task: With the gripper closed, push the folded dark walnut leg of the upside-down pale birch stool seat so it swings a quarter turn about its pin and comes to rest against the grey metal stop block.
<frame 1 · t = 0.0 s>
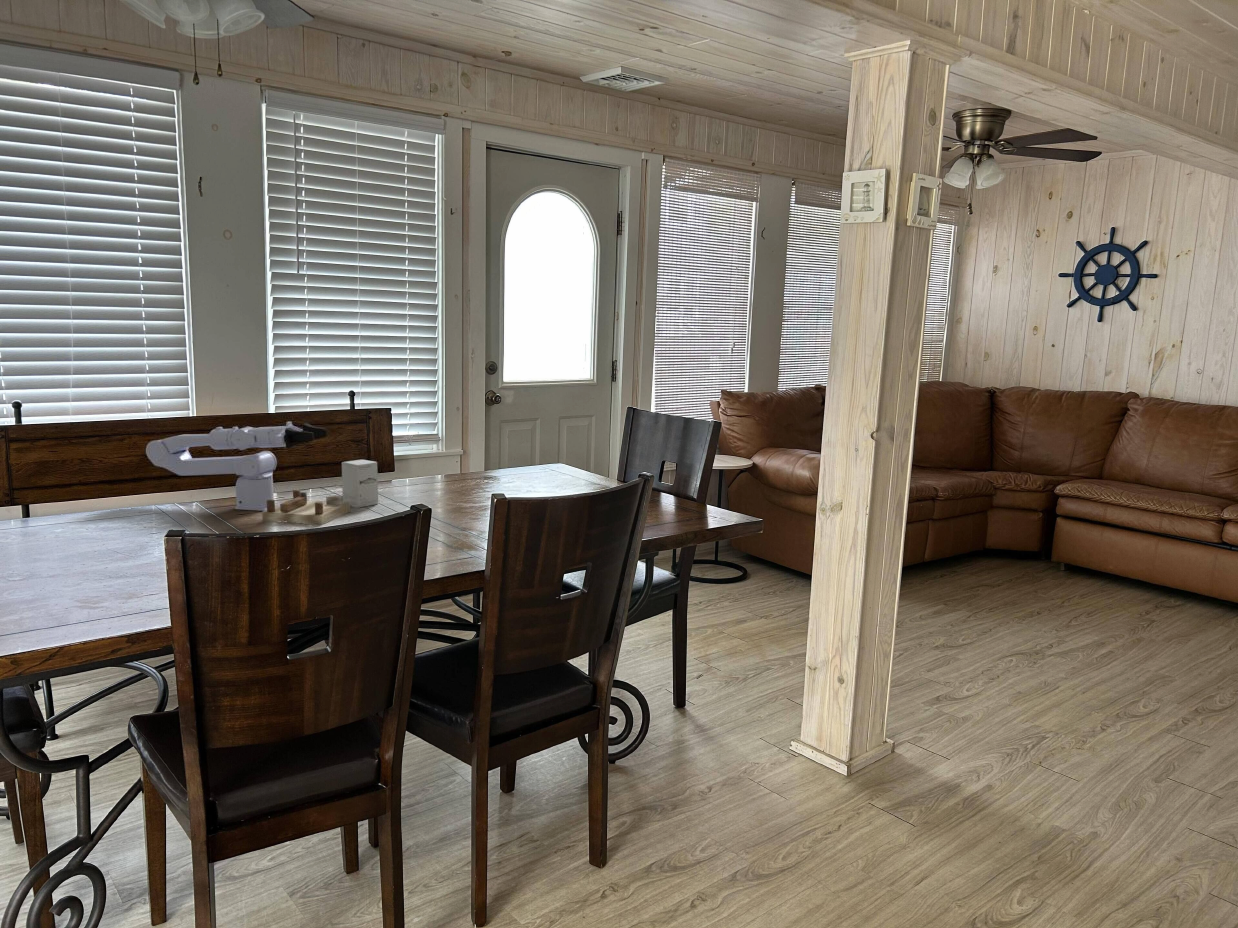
hand: (320, 434, 250), 22 cm above the table, tool horizontal, fingers open, 7 cm apart
seat: (307, 516, 248), on the table
supplement box: (360, 505, 263), on the table
leg: (294, 501, 246), point 4 cm above the table, hinge at 0.0°
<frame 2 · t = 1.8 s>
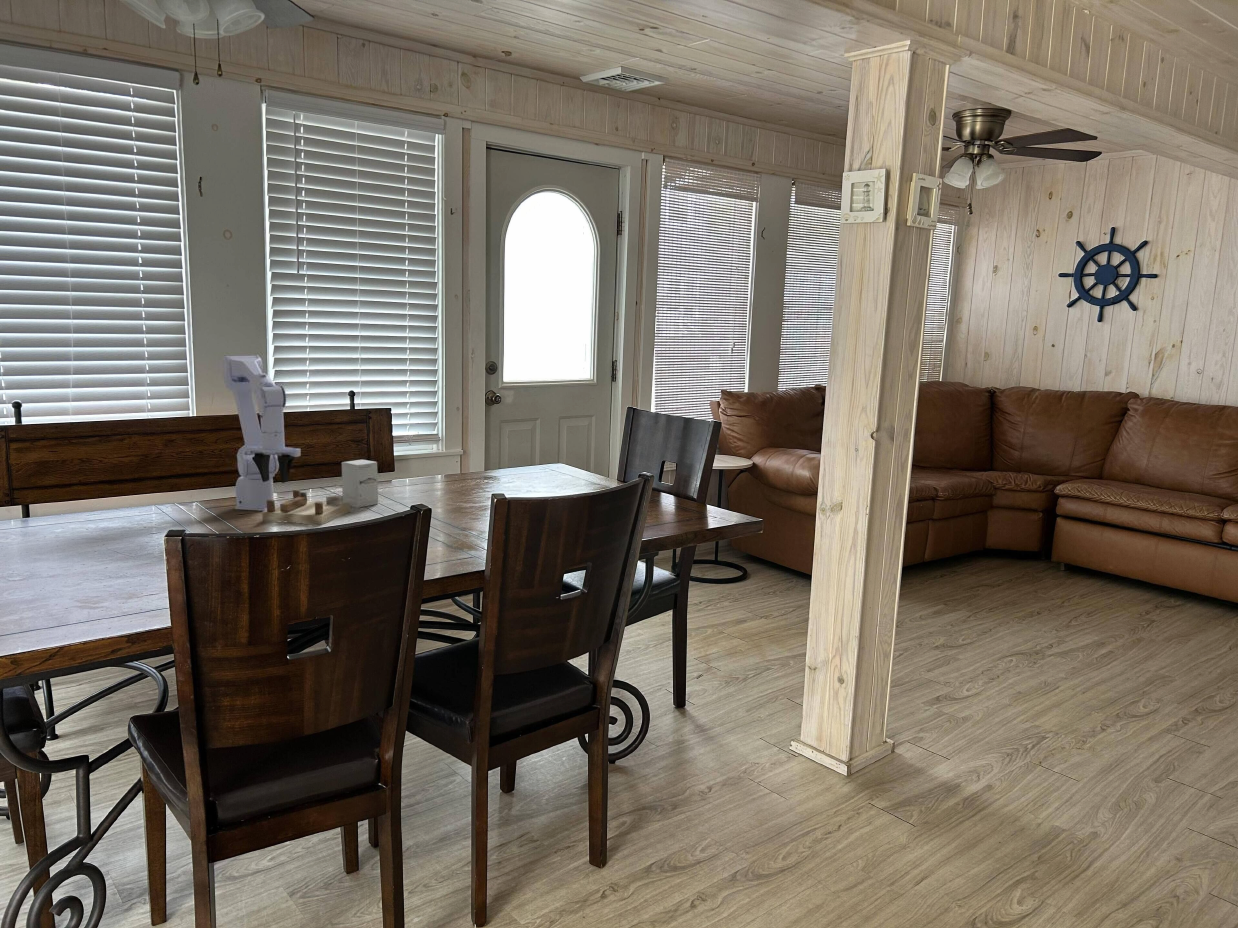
hand: (275, 481, 244), 10 cm above the table, tool pointing down, fingers open, 5 cm apart
nothing on the table moved.
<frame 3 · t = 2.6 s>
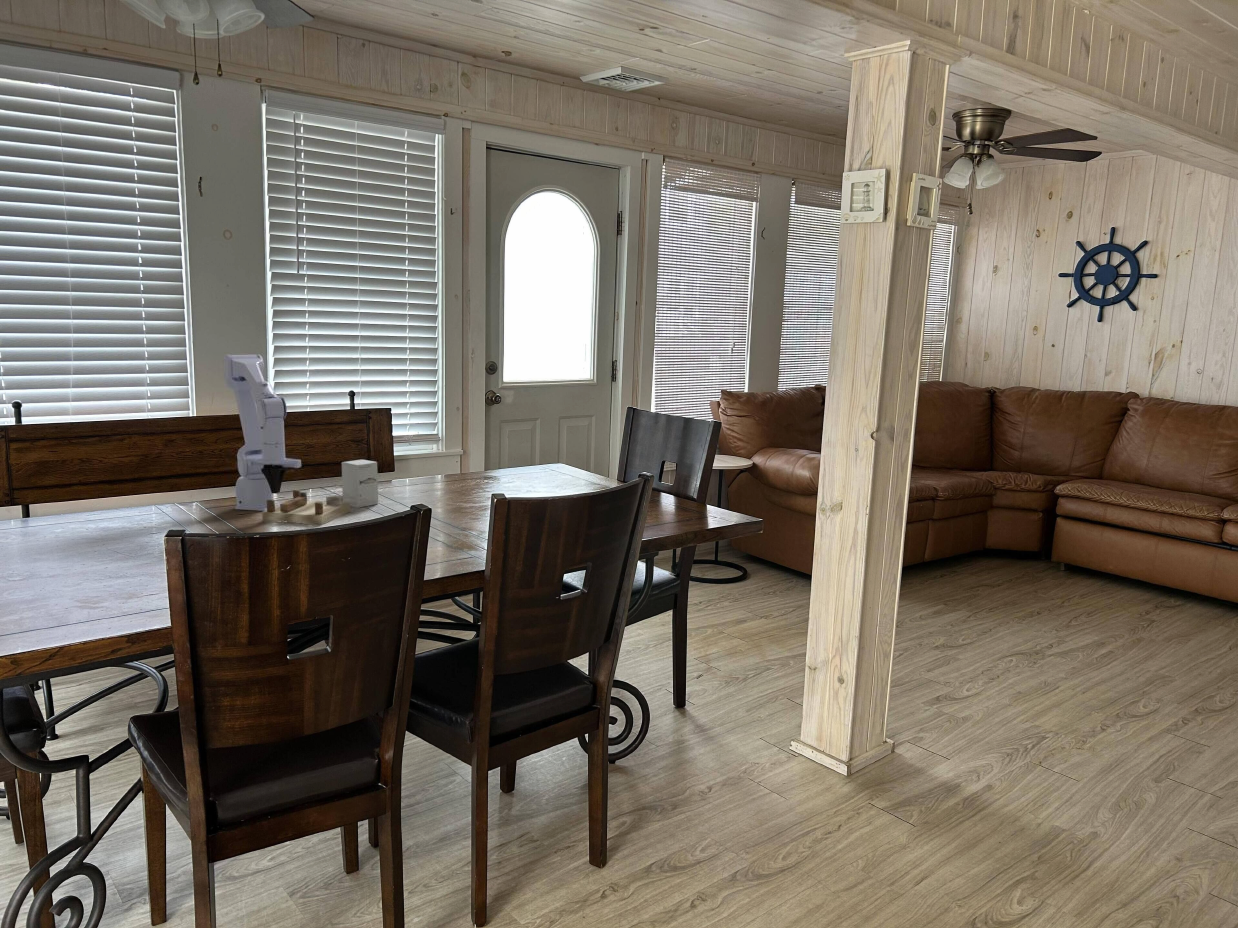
hand: (275, 492, 245), 7 cm above the table, tool pointing down, fingers closed
nothing on the table moved.
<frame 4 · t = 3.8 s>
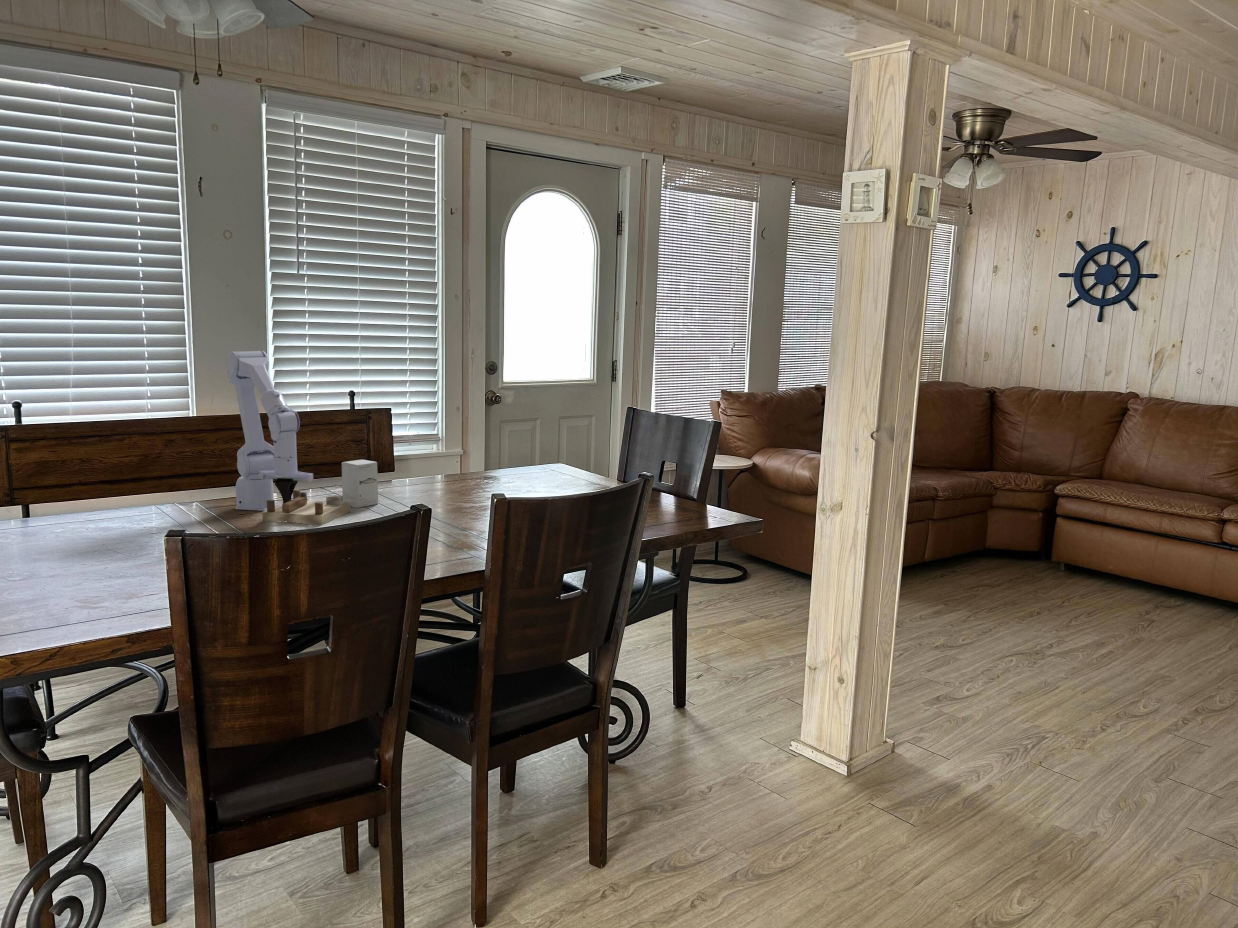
hand: (287, 506, 244), 3 cm above the table, tool pointing down, fingers closed, pressing on leg
leg: (295, 501, 246), point 4 cm above the table, hinge at 3.1°, touching gripper
everything else where it was.
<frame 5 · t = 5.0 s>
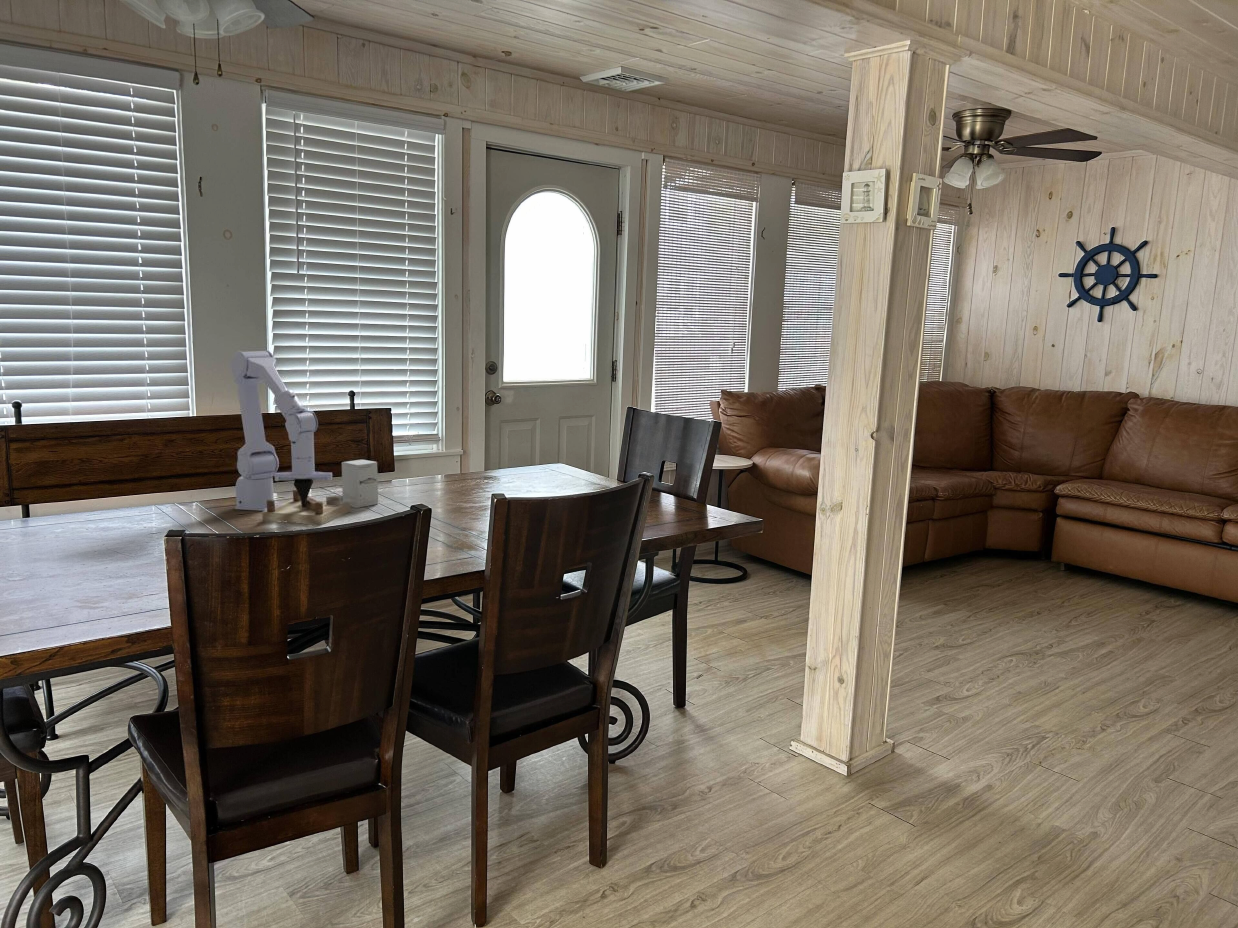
hand: (304, 506, 244), 3 cm above the table, tool pointing down, fingers closed, pressing on leg
leg: (309, 501, 247), point 4 cm above the table, hinge at 47.6°, touching gripper
everything else where it was.
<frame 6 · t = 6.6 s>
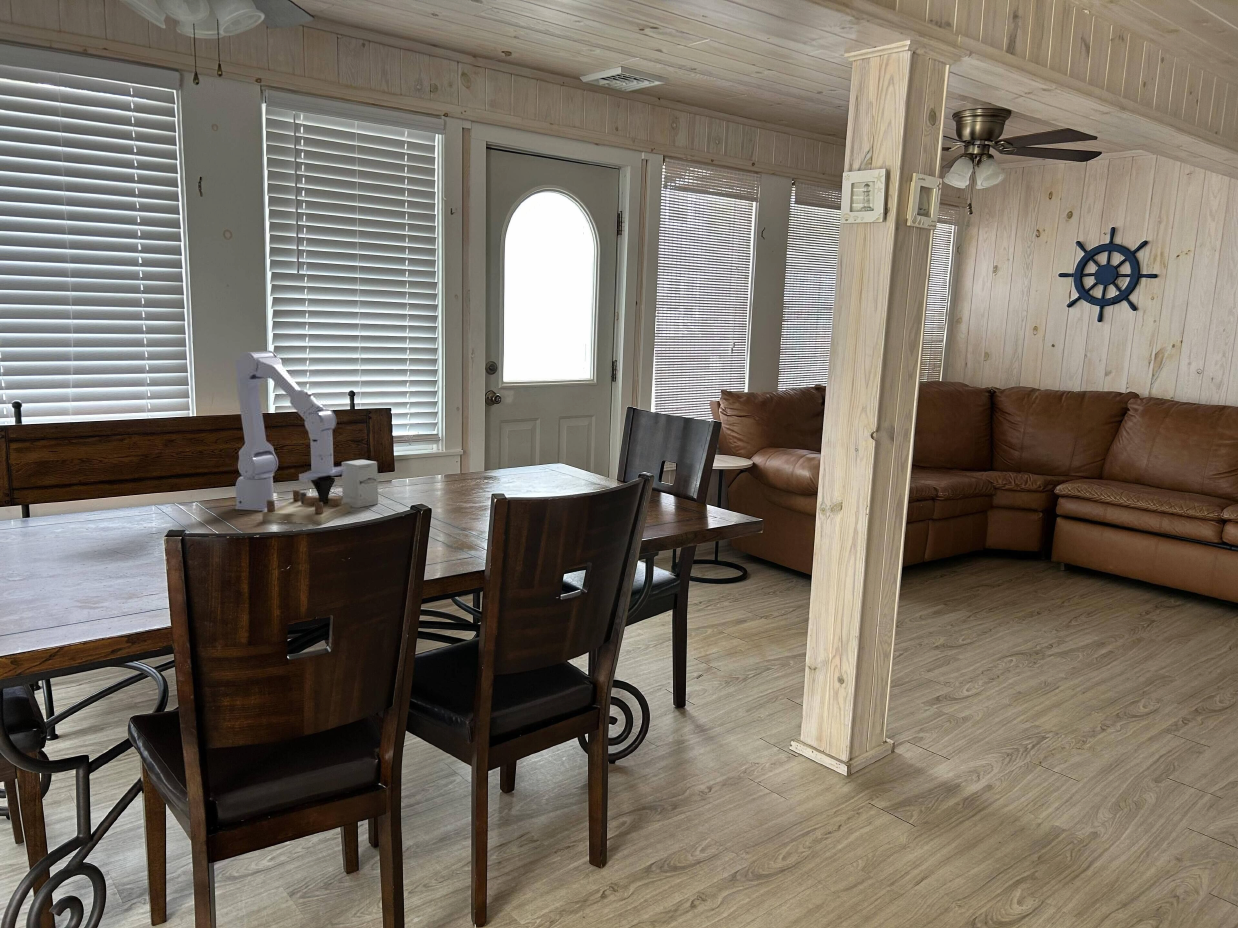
hand: (323, 503, 248), 3 cm above the table, tool pointing down, fingers closed, pressing on leg
leg: (320, 498, 250), point 4 cm above the table, hinge at 91.8°, touching gripper, seat
everything else where it was.
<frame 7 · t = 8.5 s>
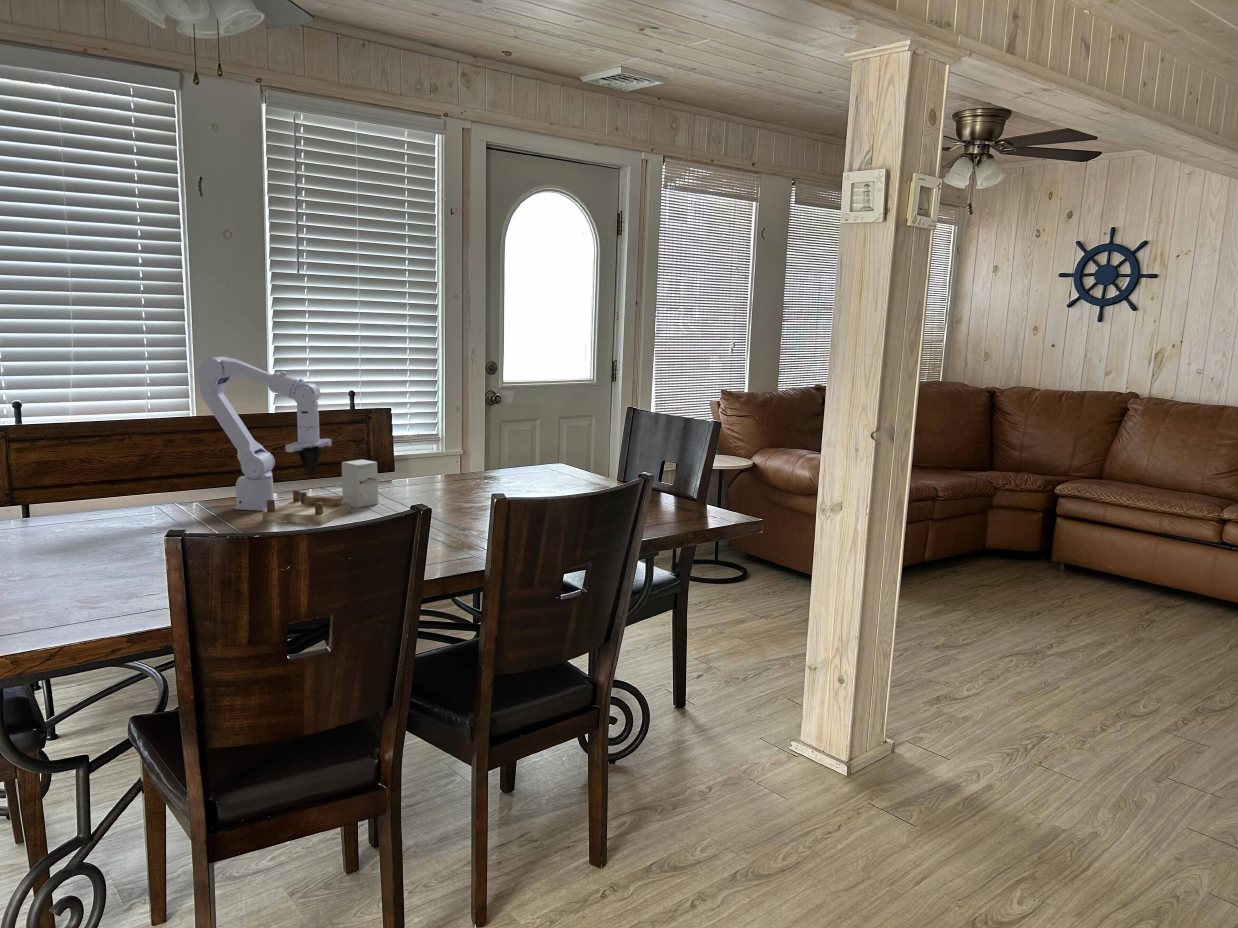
hand: (310, 474, 255), 10 cm above the table, tool pointing down, fingers closed
leg: (320, 498, 250), point 4 cm above the table, hinge at 91.8°, touching seat
everything else where it was.
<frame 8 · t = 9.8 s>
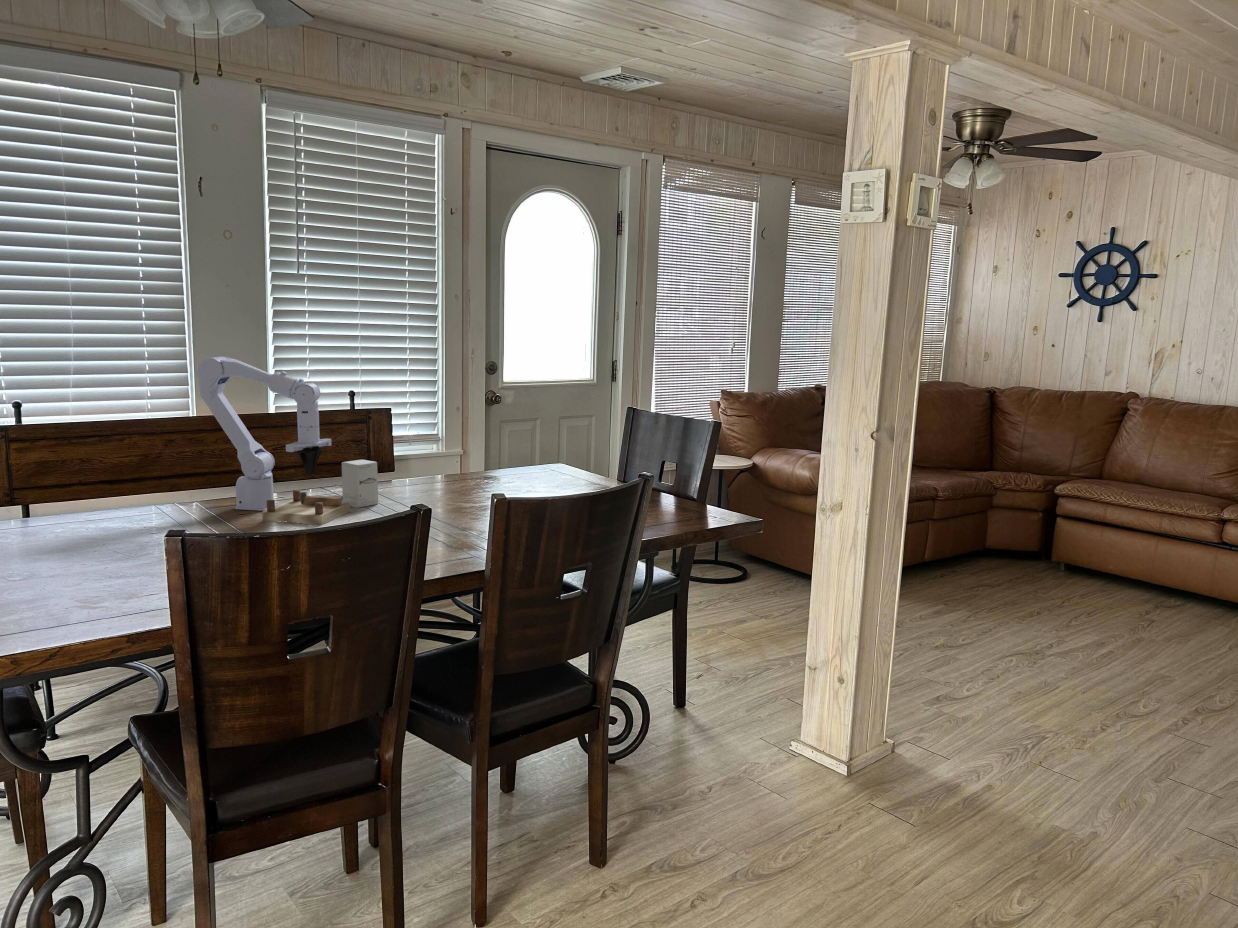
hand: (310, 473, 256), 10 cm above the table, tool pointing down, fingers closed
nothing on the table moved.
at the end: leg at +92° (first picture: +0°) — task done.
